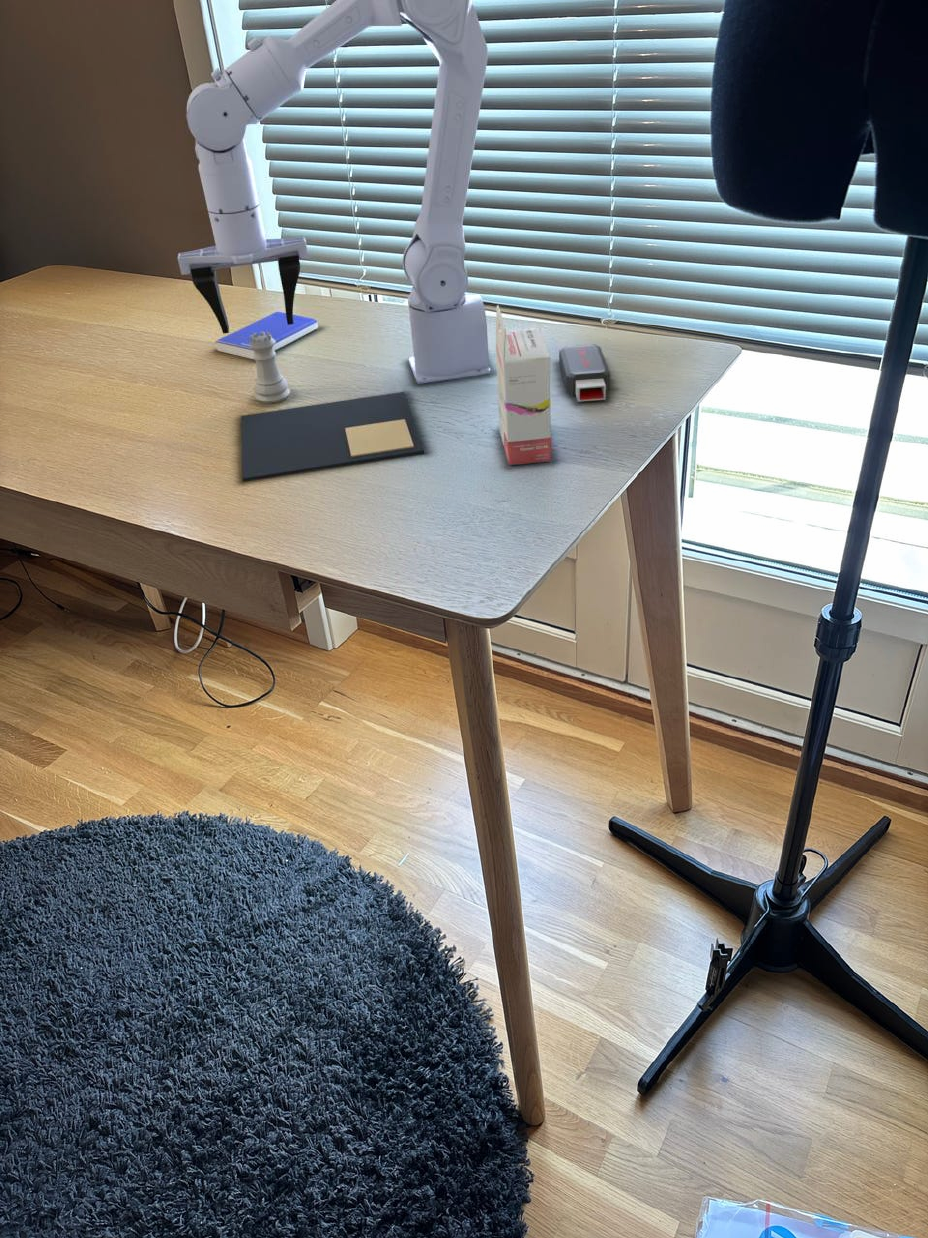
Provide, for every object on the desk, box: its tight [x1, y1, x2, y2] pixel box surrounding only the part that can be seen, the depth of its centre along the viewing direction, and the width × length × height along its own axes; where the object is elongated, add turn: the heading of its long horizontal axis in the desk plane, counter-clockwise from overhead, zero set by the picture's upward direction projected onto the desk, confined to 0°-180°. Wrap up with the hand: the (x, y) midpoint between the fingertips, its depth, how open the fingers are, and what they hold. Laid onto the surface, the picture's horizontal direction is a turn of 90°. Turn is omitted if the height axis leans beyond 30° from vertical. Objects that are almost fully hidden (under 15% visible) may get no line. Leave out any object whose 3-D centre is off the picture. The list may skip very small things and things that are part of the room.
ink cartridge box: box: [494, 304, 552, 466], centre depth 101 cm, size 9×5×15 cm, turn 5°
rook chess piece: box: [249, 332, 291, 405], centre depth 118 cm, size 4×4×8 cm
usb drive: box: [558, 344, 611, 403], centre depth 117 cm, size 5×12×3 cm, turn 2°
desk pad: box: [240, 391, 425, 482], centre depth 111 cm, size 20×16×1 cm
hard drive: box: [214, 311, 319, 361], centre depth 136 cm, size 2×8×12 cm
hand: (258, 325), depth 115 cm, fingers open, 7 cm apart
